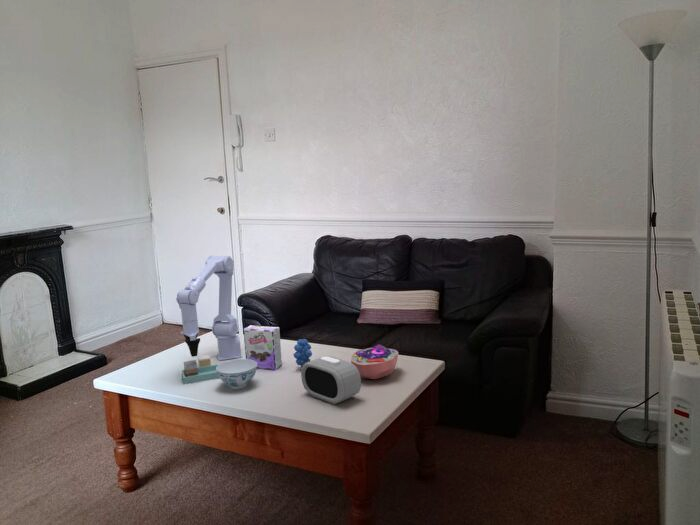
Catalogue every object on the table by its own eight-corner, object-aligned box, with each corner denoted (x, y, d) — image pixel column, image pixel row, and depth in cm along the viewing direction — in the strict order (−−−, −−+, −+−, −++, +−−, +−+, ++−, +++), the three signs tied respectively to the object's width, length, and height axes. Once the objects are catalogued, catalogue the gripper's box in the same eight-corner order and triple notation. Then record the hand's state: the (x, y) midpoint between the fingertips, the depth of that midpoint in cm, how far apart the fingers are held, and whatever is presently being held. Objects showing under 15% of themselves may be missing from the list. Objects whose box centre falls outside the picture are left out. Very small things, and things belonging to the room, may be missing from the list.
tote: (220, 370, 232) (219, 364, 231) (223, 377, 223) (222, 371, 223) (182, 376, 227) (181, 370, 227) (184, 384, 218) (183, 377, 218)
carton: (210, 365, 239) (209, 354, 238) (211, 368, 234) (210, 358, 233) (198, 367, 237) (197, 356, 236) (199, 370, 233) (198, 359, 232)
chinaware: (209, 387, 213) (207, 367, 212) (241, 375, 224) (240, 356, 223) (234, 396, 204) (233, 376, 202) (267, 383, 215) (265, 363, 213)
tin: (197, 374, 227) (195, 359, 226) (198, 378, 222) (197, 363, 221) (185, 376, 225) (183, 361, 224) (186, 380, 221) (184, 365, 220)
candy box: (245, 367, 233) (242, 328, 230) (253, 362, 238) (250, 324, 236) (275, 370, 228) (272, 330, 225) (282, 365, 233) (279, 326, 231)
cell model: (340, 379, 215) (338, 350, 213) (375, 364, 229) (373, 336, 227) (375, 389, 203) (373, 359, 201) (409, 372, 218) (408, 344, 216)
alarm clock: (301, 393, 203) (299, 357, 201) (321, 385, 210) (319, 350, 207) (341, 409, 188) (339, 370, 186) (362, 399, 195) (360, 362, 193)
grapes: (305, 373, 223) (303, 343, 221) (291, 371, 226) (288, 342, 224) (320, 363, 233) (318, 334, 231) (305, 361, 236) (303, 333, 234)
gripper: (178, 316, 229) (181, 349, 231) (180, 325, 215) (184, 360, 217) (196, 314, 231) (199, 346, 233) (199, 323, 217) (203, 357, 220)
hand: (193, 353), depth 225 cm, fingers open, 7 cm apart
